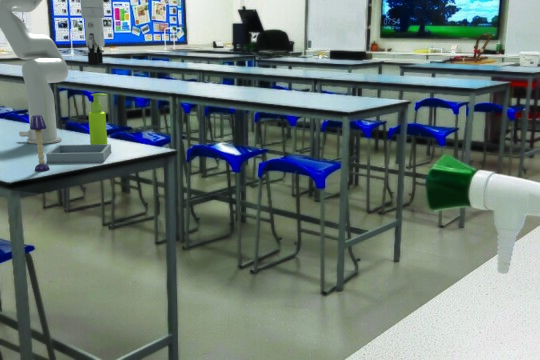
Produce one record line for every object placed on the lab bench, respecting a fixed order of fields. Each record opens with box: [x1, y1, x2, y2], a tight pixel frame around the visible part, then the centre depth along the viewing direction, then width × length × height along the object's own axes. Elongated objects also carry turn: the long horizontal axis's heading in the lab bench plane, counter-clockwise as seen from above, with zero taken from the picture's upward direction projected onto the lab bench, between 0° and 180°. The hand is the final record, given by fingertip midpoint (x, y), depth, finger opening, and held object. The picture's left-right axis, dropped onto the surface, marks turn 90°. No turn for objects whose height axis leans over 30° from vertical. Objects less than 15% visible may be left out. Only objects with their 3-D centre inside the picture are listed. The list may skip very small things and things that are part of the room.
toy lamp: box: [29, 115, 50, 172], centre depth 183 cm, size 5×5×17 cm
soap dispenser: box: [88, 92, 108, 145], centre depth 216 cm, size 6×7×20 cm
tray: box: [45, 143, 112, 164], centre depth 202 cm, size 18×16×3 cm
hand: (95, 64), depth 211 cm, fingers open, 9 cm apart
